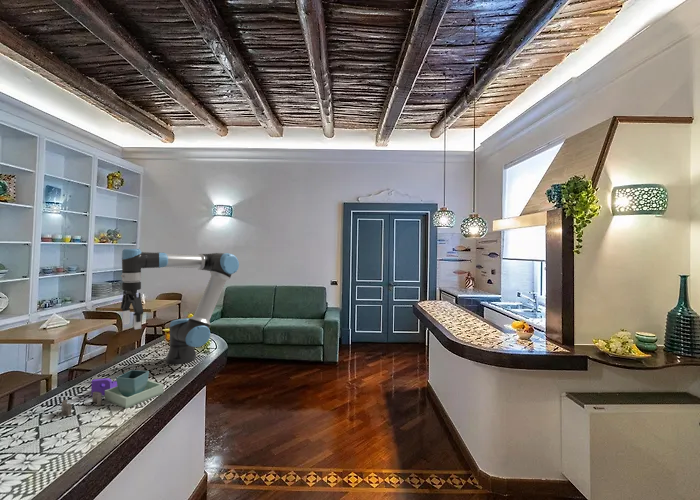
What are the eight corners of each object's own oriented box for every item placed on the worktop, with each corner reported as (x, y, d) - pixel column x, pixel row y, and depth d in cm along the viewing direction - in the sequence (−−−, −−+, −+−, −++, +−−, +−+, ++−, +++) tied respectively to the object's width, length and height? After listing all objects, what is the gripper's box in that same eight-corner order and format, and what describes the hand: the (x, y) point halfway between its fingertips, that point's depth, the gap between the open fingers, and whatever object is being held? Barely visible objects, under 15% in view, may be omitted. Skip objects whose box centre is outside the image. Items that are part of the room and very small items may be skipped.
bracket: (110, 395, 148) (110, 379, 148) (91, 397, 146) (91, 381, 146) (119, 384, 160) (119, 369, 160) (102, 385, 158) (102, 371, 158)
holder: (98, 399, 143) (97, 390, 143) (103, 404, 139) (103, 395, 139) (59, 411, 133) (59, 401, 133) (64, 417, 129) (64, 406, 129)
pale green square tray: (142, 386, 157) (142, 377, 157) (163, 393, 149) (163, 384, 149) (104, 399, 143) (104, 390, 143) (126, 408, 136) (126, 398, 136)
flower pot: (134, 400, 141) (134, 378, 141) (115, 398, 143) (115, 377, 142) (149, 391, 150) (149, 370, 150) (131, 389, 151) (131, 369, 151)
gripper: (112, 280, 164) (112, 323, 165) (133, 284, 149) (133, 332, 149) (130, 279, 170) (130, 321, 171) (151, 282, 155) (151, 329, 155)
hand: (131, 326), depth 160 cm, fingers open, 13 cm apart
